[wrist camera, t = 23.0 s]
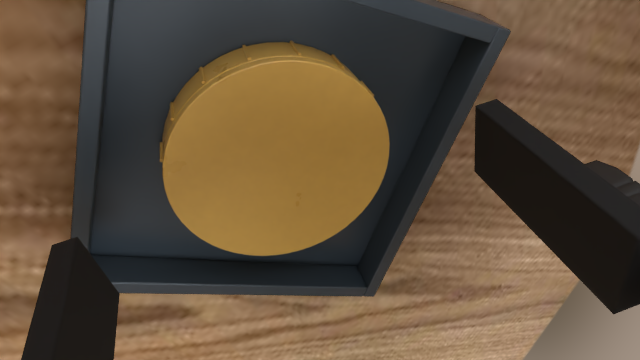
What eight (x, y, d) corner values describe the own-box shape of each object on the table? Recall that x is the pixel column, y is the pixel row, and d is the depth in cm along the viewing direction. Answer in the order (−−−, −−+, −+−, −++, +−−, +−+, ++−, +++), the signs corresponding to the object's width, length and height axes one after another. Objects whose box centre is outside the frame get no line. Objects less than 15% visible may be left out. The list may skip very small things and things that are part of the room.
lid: (139, 52, 15) (137, 74, 13) (381, 31, 16) (401, 48, 15) (182, 242, 19) (183, 273, 18) (366, 210, 21) (380, 236, 20)
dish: (481, 14, 18) (512, 30, 16) (360, 267, 24) (374, 296, 23) (100, -108, 13) (92, -102, 11) (74, 256, 19) (66, 293, 17)
